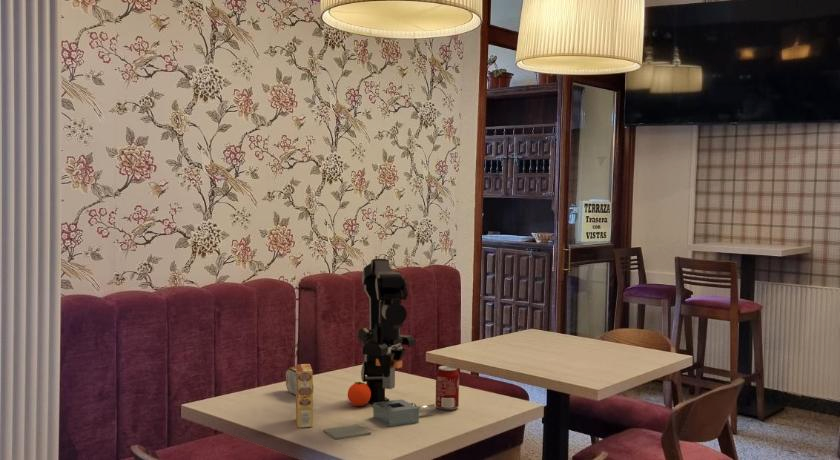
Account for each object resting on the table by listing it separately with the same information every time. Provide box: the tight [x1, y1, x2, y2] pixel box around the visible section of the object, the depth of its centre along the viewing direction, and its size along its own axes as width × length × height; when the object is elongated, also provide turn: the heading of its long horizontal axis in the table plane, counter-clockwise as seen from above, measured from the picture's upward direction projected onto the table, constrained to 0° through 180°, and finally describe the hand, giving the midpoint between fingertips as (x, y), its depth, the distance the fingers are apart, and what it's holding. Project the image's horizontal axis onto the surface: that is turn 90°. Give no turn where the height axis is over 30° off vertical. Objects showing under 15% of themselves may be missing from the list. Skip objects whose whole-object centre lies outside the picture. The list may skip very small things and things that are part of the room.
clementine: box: [347, 381, 371, 407], centre depth 236 cm, size 8×7×7 cm
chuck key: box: [376, 358, 403, 390], centre depth 219 cm, size 2×7×8 cm, turn 60°
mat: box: [323, 423, 372, 440], centre depth 209 cm, size 8×10×1 cm
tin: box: [284, 365, 296, 397], centre depth 246 cm, size 15×3×8 cm, turn 34°
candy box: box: [295, 363, 314, 428], centre depth 217 cm, size 9×4×15 cm, turn 13°
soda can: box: [435, 365, 460, 411], centre depth 235 cm, size 7×7×12 cm
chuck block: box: [372, 399, 436, 427], centre depth 224 cm, size 10×17×4 cm, turn 119°
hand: (388, 376), depth 219 cm, fingers closed on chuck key, 2 cm apart
